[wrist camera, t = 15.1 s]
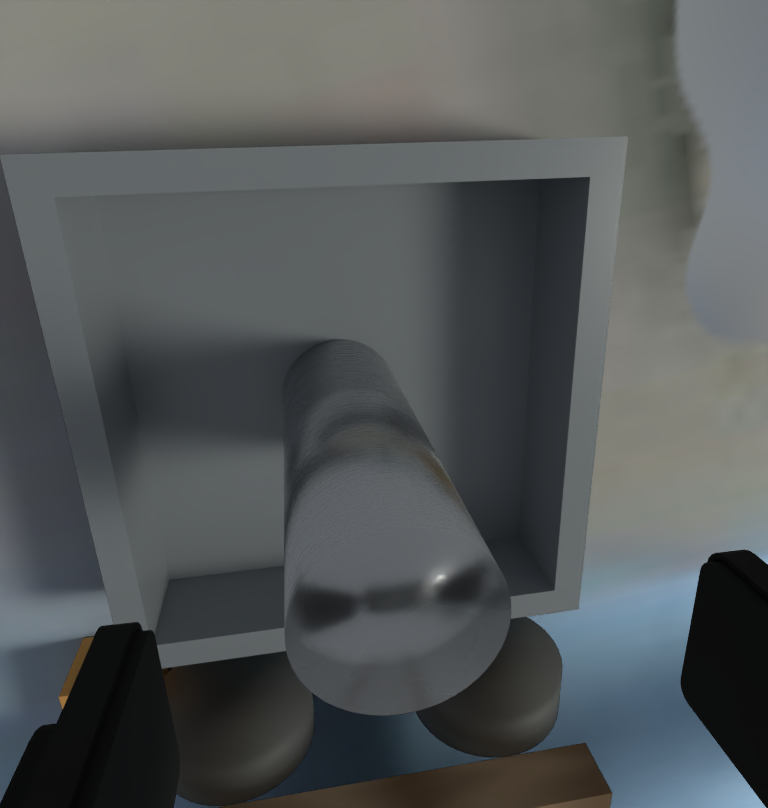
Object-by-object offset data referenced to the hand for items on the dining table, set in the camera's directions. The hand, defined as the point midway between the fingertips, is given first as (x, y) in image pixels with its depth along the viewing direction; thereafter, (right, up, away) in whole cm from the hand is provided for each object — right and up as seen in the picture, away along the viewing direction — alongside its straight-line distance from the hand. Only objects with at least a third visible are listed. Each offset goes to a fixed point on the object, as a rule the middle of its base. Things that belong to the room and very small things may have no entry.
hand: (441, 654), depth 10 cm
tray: (-3, +5, +12) cm, 14 cm away
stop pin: (-3, +5, +11) cm, 13 cm away
